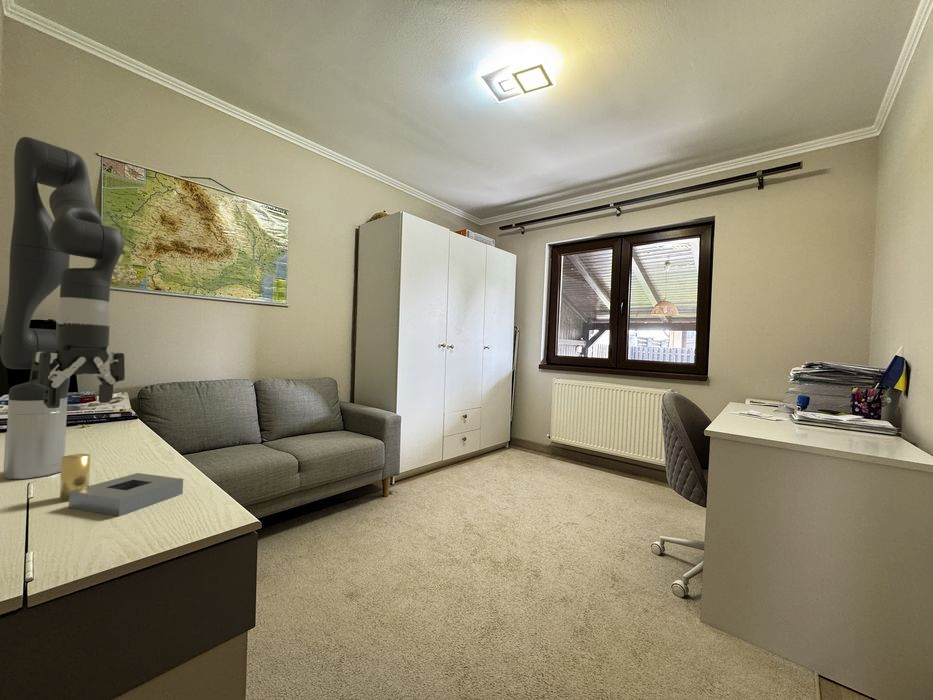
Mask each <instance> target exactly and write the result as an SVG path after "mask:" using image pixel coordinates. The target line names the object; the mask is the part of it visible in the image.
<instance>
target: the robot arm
mask: <svg viewBox="0 0 933 700" xmlns="http://www.w3.org/2000/svg"><path fill="white" fill-rule="evenodd" d="M13 159H14V161H13V170H14V171H13V172H14V179H13V180H14V182H13V183H14V213H13V222H12V223H13V224H12V229H11V230H12V231H11V239H10V248H9V267H8V268H9V274H8V276H9V277H8V294H7V302H6V303H7V304H6V308H5V309H6V310H5V316H4V321H3V326H2V327H3V328H2V332H1V340H0V341H1V342H0V361H1V363H2V364H3V366H4V367H5V368H7V369H10V370H11V369H12V370H30V374H29V381H27V382H24V383H20V384H15V385H14V386H11V387H10V388H9V390H8V405H7V423H6V424H7V425H6V433H5V435H4V436H5V437H4V440H5V441H4V457H3V458H4V459H3V475H4V478H5V479H9V480H23V479H33V478H38V477H39V478H40V477H44V476H45V477H46V476H50V475H54V474H57V473H61V459H62V457H64V456H65V455H66V453H65V452H66V436H67V435H66V433H67V416H68V415H67V414H68V393H69V387H70V381H71V380H70V379H71V376H72V375H76V376H77V375H92V376H93V377H94V378H96V379H97V381H99V385H98V402H99V403H101V404H108V403H109V404H110V403H111V400H112V399H113V398H114V395H113V394H114V385H115V384H116V383H119V382H122V381H124V380H125V374H126V373H125V367H126V365H125V353H123V352H110V353H109V352H108V350H107V349H108V347H109V344H110V324H111V321H110V320H111V307H110V298H111V297H110V293H111V281H112V277H113V273H114V271H115V268H116V266H117V264H118V261H119V259H120V257H121V256H122V253H123V250H124V249H125V240H124V238H123V235H122V234H121V232H120V231H119V230H118V229H116V228H115V227H112V226H108V225H105V224H103V221H102V217H101V215H100V213H99V211H98V208H97V207H96V204H95V202H94V200H93V196H92V189H91V182H90V175H89V170H88V167H87V163H86V162H85V160H84V159H83V157H82V156H80V155H79V154H78V153H76V152H73V151H71V150H69V149H65V148H62V147H60V146H56V145H54V144H51V143H48V142H45V141H42V140H39V139H36V138H33V137H29V136H22V137H20V138H19V139H18V141H17V142H16V145H15V149H14V158H13ZM39 184H40V185H42V186H43V185H44V186H47V187H51V188H54V189H53V191H52V192H51V193H50V196H49V199H48V200H49V201H48V203H49V209H50V211H51V213H52V216H53V218H52V217H51V214H49V212H48V210H47V208H46V207H45V205H44V203H43V200H42V198H41V195H40V191H39V186H38V185H39ZM53 219H54V220H53ZM71 256H75V257H82V258H85V259H86V258H87V259H91V260H93V259H94V260H96V263H95V264H94V265H93V266H92V267H72V268H71V267H70V259H71ZM59 286H60V289H59V302H58V306H57V308H56V309H57V312H56V327H55V329H50V328H49V329H48V328H30V325H31V320H32V317H33V315H34V313H35V311H36V310H37V309H38V307H39V306H40V305H41V303H43V301H44V300H46V298H47V297H48V296H49V295H51V294H52V293H53V292H54V291H55V290H56V289H57V288H59ZM106 362H108V363H109V368H108V367H107V366H106V365H105V363H106Z"/></svg>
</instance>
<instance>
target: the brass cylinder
mask: <svg viewBox="0 0 933 700" xmlns="http://www.w3.org/2000/svg"><path fill="white" fill-rule="evenodd" d="M90 469H91V454H90V453H75V454H70V455H66V456H64V457H62V459H61V472H60V481H59V482H60V484H59V485H60V486H59V488H60V489H59V501H61V502H69V491H73V490H76V489H80V488H84V487H88V486H90V474H91V473H90V471H91V470H90Z"/></svg>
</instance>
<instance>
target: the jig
mask: <svg viewBox="0 0 933 700" xmlns="http://www.w3.org/2000/svg"><path fill="white" fill-rule="evenodd" d="M183 488H184V479H183V478H179V477H172V476H164V475H155V474H148V473H142V472H141V473H139V472H136V473H132V474H129V475H125V476H122V477H118V478H117V477H116V478H114V479H111V480H107V481H103V482H98V483H95V484H91V485H89V486H88V487H84V488H80V489H76V490H73V491H69V501H68V509H74V510H81V511H85V512H91V513H97V514H103V515H109V516H116V517H121V516H124V515H126V514H130V513H132V512H135V511H138V510H141V509H144V508H146V507H149V506H152V505H154V504H157V503H161V502H163V501H167V500H168V499H172V498H174V497H178V496H180V495H182V494H183V493H184V492H183V491H184V490H183Z"/></svg>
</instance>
